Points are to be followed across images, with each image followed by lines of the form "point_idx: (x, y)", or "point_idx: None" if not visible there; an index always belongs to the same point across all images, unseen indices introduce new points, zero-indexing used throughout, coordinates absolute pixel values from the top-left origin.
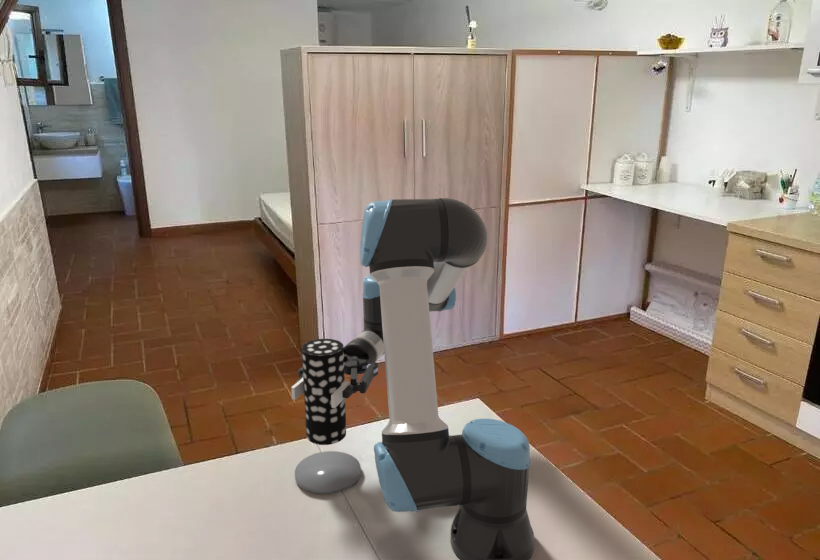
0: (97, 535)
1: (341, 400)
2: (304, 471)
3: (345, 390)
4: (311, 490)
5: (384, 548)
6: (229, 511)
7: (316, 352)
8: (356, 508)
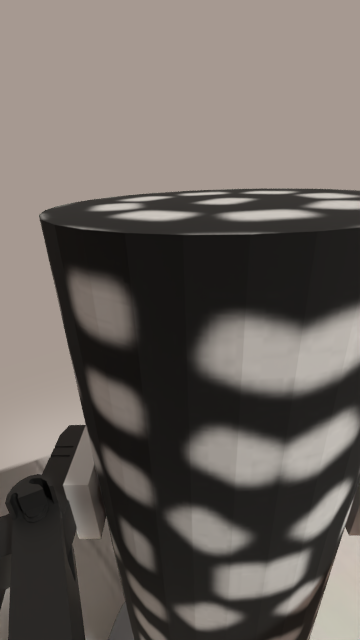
0: None
1: None
2: None
3: (79, 436)
4: None
5: (21, 472)
6: None
7: (209, 193)
8: (86, 552)
